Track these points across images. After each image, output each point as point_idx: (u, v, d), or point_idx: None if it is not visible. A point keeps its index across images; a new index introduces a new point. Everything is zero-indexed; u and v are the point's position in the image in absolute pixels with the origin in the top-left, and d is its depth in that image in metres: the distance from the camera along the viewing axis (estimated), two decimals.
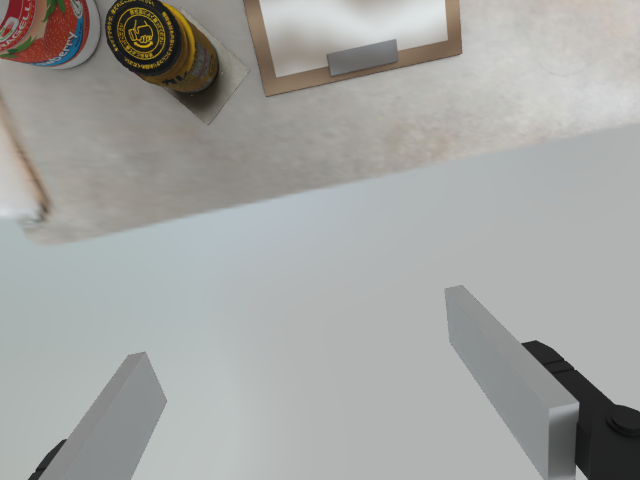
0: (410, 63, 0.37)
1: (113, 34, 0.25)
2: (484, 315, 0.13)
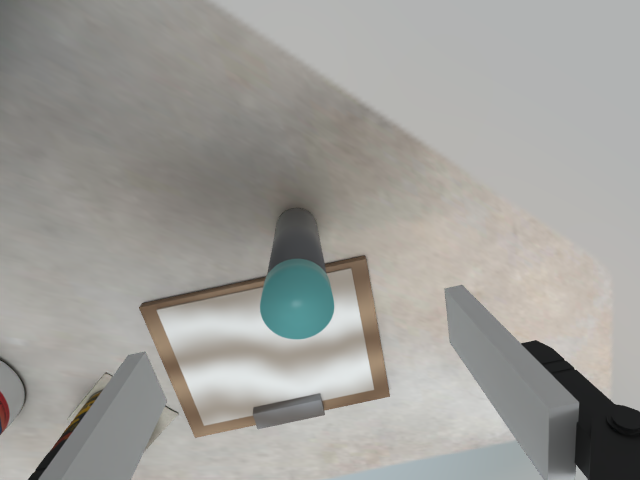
0: (338, 406, 0.37)
1: None
2: (484, 315, 0.13)
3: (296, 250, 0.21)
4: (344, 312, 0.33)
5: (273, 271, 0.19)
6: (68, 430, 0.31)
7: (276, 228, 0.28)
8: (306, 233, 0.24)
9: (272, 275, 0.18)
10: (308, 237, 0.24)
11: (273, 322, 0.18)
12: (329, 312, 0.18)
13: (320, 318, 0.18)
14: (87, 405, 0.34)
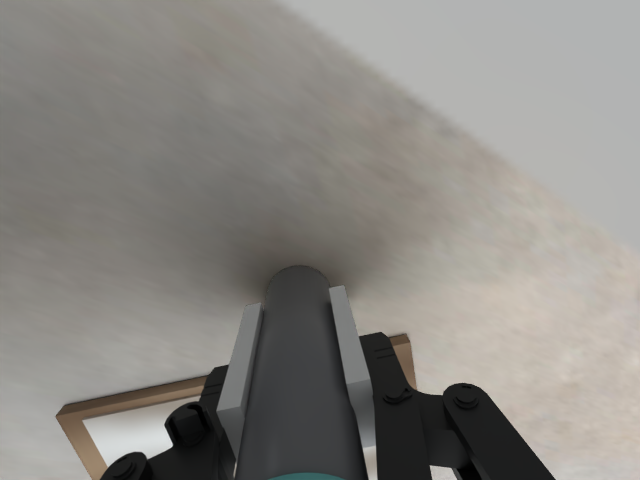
0: None
1: None
2: (345, 311, 0.15)
3: (299, 420, 0.09)
4: None
5: None
6: None
7: (265, 307, 0.17)
8: (318, 341, 0.13)
9: None
10: (322, 356, 0.12)
11: None
12: None
13: None
14: None
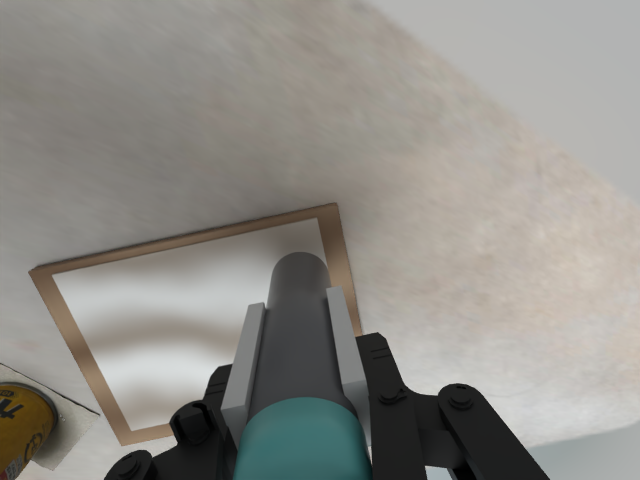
0: None
1: None
2: (342, 311, 0.15)
3: (302, 364, 0.11)
4: None
5: (257, 428, 0.09)
6: None
7: (270, 286, 0.19)
8: (317, 310, 0.15)
9: (254, 444, 0.09)
10: (320, 321, 0.14)
11: None
12: None
13: None
14: None
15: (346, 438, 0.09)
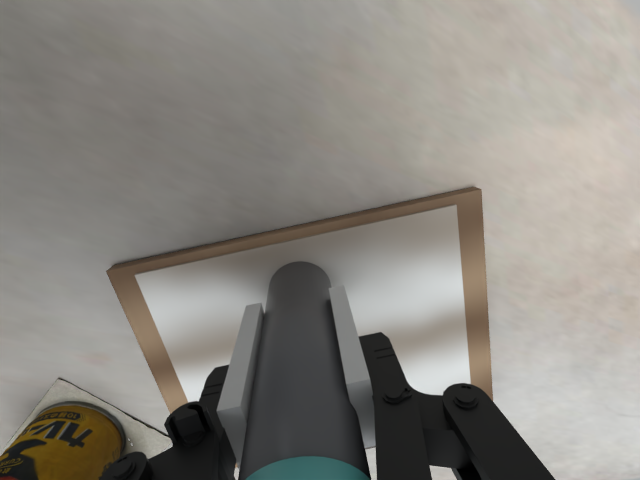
0: None
1: None
2: (345, 311, 0.15)
3: (305, 408, 0.10)
4: (438, 280, 0.21)
5: None
6: None
7: (268, 301, 0.17)
8: (321, 334, 0.13)
9: None
10: (325, 349, 0.13)
11: None
12: None
13: None
14: (27, 430, 0.21)
15: None
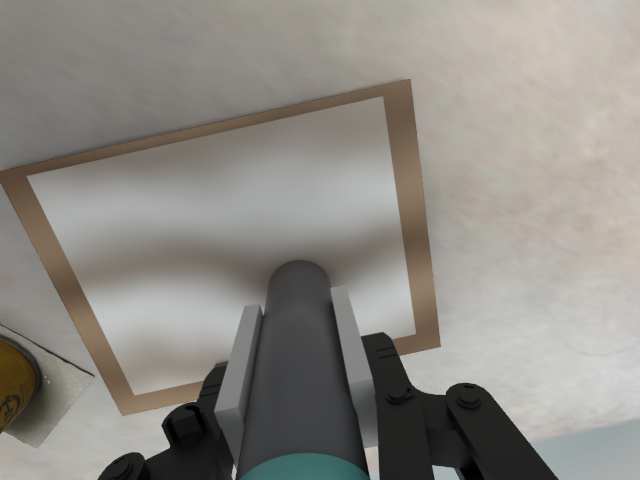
0: None
1: None
2: (347, 310, 0.15)
3: (306, 405, 0.10)
4: (369, 187, 0.19)
5: None
6: None
7: (268, 298, 0.17)
8: (322, 333, 0.13)
9: None
10: (325, 347, 0.13)
11: None
12: None
13: None
14: None
15: None
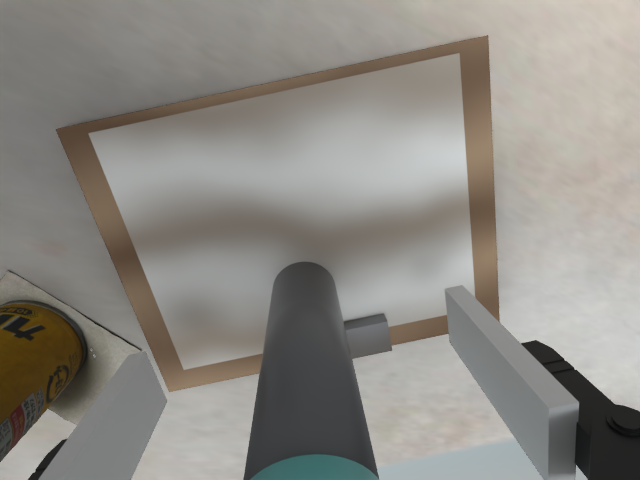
0: (412, 339, 0.22)
1: None
2: (484, 315, 0.13)
3: (316, 406, 0.10)
4: (438, 151, 0.18)
5: None
6: None
7: (273, 299, 0.17)
8: (329, 334, 0.13)
9: None
10: (333, 349, 0.12)
11: None
12: None
13: None
14: None
15: None
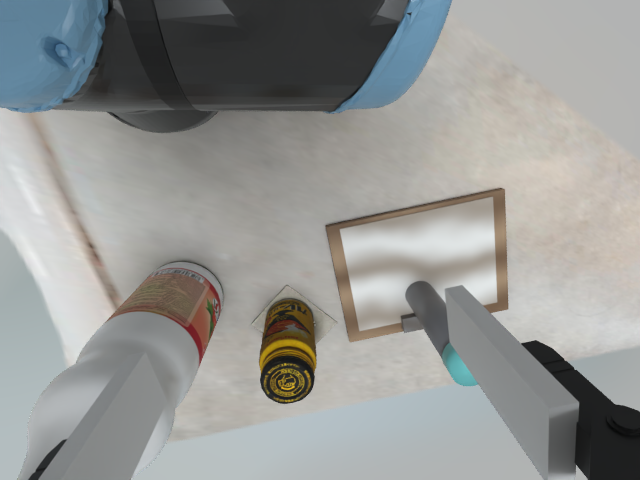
0: None
1: (267, 384, 0.34)
2: (484, 315, 0.13)
3: None
4: (482, 234, 0.42)
5: None
6: (274, 321, 0.40)
7: (414, 297, 0.41)
8: None
9: None
10: None
11: (456, 375, 0.31)
12: None
13: None
14: (277, 308, 0.42)
15: None
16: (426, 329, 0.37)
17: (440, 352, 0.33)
